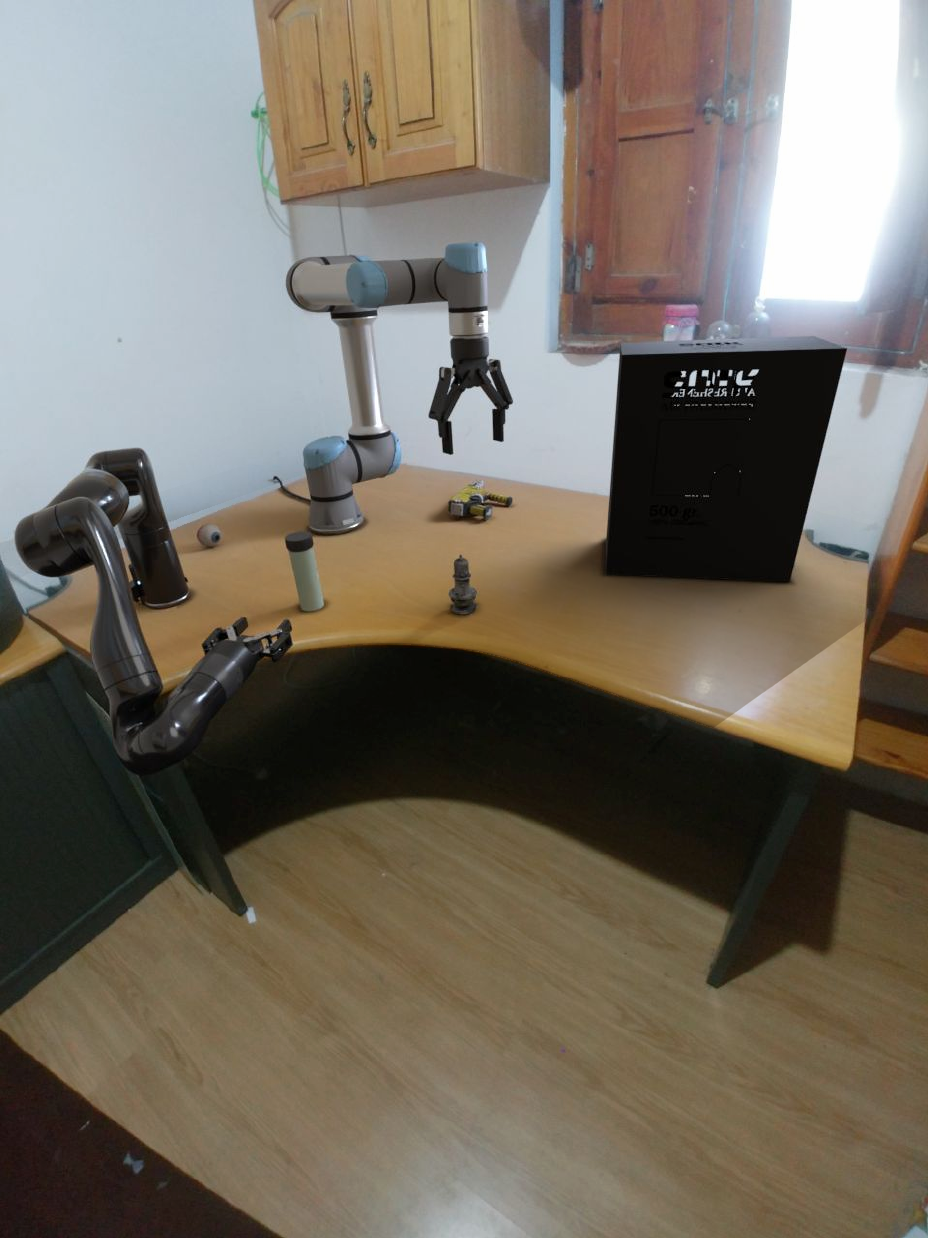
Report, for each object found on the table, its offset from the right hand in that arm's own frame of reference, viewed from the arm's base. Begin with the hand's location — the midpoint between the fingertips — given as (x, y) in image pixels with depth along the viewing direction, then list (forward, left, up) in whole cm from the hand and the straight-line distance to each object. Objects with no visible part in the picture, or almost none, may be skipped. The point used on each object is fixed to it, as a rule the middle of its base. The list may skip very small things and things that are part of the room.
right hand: (473, 447), depth 127 cm
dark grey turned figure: (+14, -15, -28) cm, 34 cm away
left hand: (+3, -51, -21) cm, 56 cm away
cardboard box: (+30, +38, -28) cm, 56 cm away
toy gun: (-31, +26, -28) cm, 49 cm away
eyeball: (-58, -45, -28) cm, 78 cm away
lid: (-9, -38, -12) cm, 41 cm away
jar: (-9, -38, -28) cm, 48 cm away
